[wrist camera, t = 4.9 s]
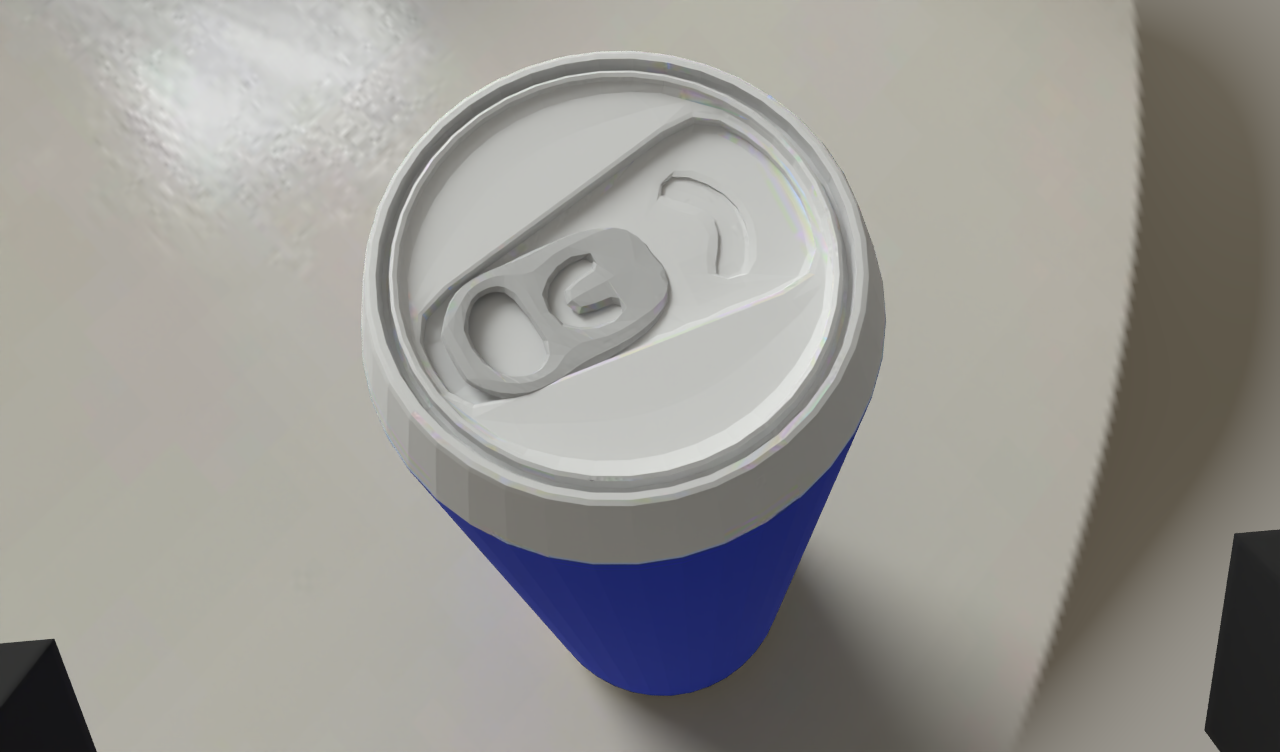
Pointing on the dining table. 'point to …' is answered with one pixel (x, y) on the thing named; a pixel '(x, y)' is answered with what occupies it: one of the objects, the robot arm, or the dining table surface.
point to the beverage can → (626, 349)
